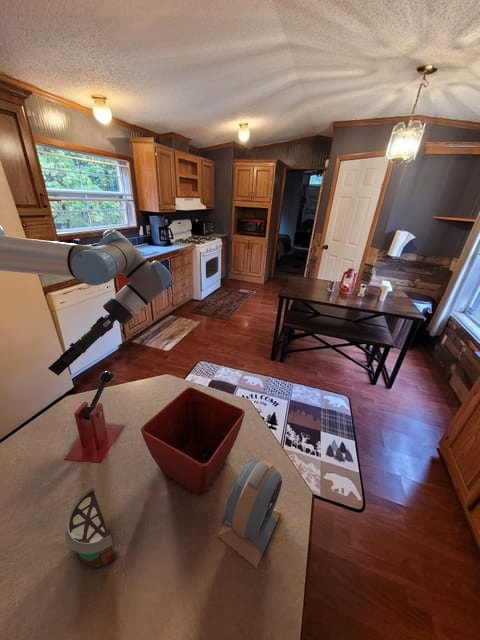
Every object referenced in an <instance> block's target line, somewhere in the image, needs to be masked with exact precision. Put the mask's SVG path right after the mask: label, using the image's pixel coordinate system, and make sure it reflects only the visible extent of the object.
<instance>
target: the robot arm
mask: <svg viewBox="0 0 480 640" xmlns="http://www.w3.org/2000/svg"><path fill="white" fill-rule="evenodd" d="M0 271H3V272H11V273H19V274H20V273H21V274H31V275H39V276H50V277H60V278H68V279H69V278H70V279H77V280H79V282H82V283H83V284H85V285H87V286H93V287H95V286H100V285H103V284H107V283H109V282H111V281H112V280H113V279H115V278H117V277H118V276H119V275H121V274H122V276H124V277H125V278H126V280H128V281H129V282H128V283H127V284H126V285H124V286H123V287H122V288H121V289H120V290H119V291H117V292H116V294H114V296H115V297H111V298H110V299H108V301H106V302H105V303H104V304H103V306H102V308H103V309H104V310H105V312H106V313H108V314H106V315H104V316H102V315H101V316H100V317H99V318H98V319H97V320H96V322H95V323H94V324H92V326H90V329H89V330H88V331H87V332H86V333H84V334H83V335H82V336H81V338H78V340H76V341H75V342H71V343H70V344H69V347H68V349H66V350H65V351H64V352H63V353H62V354H60V356H59V358H57V359H56V360H55V361H54V362H53V363H52V364H51V365H49V367H48V368H47V370H49V371H51V372H52V373H53V374H55V375H57V376H60V375H61V374H62V373H63V372H64V371H65V370H66V369H68V368H69V367H70V366H71V365H72V364H73V363H74V362H75V361H76V360H78V359H79V357H80V356H82V355H83V354H85V353H86V352H87V350H88V349H90V347H92V345H93V344H95V343H96V342H97V341H98V340H99V339H100V338H102V337H103V336H104V335H106V333H109V332H110V331H111V330H112V329H113V328H114V324H115V322H116V321H117V323H119V324H121V325H122V326H126V325H127V324H128V323H129V322H131V320H132V319H134V315H138V314H139V313H140V312H144V311H145V310H146V308H145V307H146V306H147V305H148V304H149V303H151V302H152V300H154V299H155V298H156V297H157V296H158V295H159V294H161V293H162V292H163V291H164V290H165V288H166V287H168V286H169V285H170V284H171V282H172V281H173V276H172V274H171V272H170V270H169V269H168V268H167V267H166V266H165V265H164V264H162V262H160V261H158V260H153V261H151V262H150V261H149V260H147V258H145V257H144V255H142V253H141V252H140V250H138V249H137V248H136V247H135V246H134V245H133V244H132V243H131V242H130V240H129V239H128V238H127V237H125V236H124V235H123V233H121V232H120V231H118V230H113V231H111V232H109V233H107V234H106V235H104V236H103V237H102V238H101V239H100V240H99V242H98V243H97V244H96V245H95V246H93V245H87V244H86V245H85V244H77V243H68V242H60V241H51V240H43V239H35V238H25V237H16V236H9V235H7V234H6V233H5V230H4V228H3V227H2V226H1V225H0Z"/></svg>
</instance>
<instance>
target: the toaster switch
mask: <svg viewBox="0 0 480 640" xmlns="http://www.w3.org/2000/svg"><path fill="white" fill-rule="evenodd" d="M86 406H89V402H88V401H83V403H82V404H81V405H79V407H78V408H77V409H76V411H75V412H74V413H73V414H74V419H75V423H76V427H77V432H78V437H79V438H78V440H77V441H76V443H75V444H73V445H74V446H72V448H71V449H70V450H69V452H68V453H67V454H66V456H65V457H64V458H63V460H66V461H74V462H86V463H95V464H102V463H103V461H104V459H105V457H106V456H107V454H108V452H109V451H110V450H111V447H112V446H113V444H114V442H115V441H116V439H117V437H118V436H119V434H120V433H121V431H122V429H123V427H121V426H111V425H109V426H108V425H107V423H106V419H105V418H106V417H105V413H104V406H103V403H102V402H98V403H97V405H96V407H95V408H94V409H93V411H92V412H91V413H90V414H89V415H90V420H85V419H84V418H83V417H82V414H83V412H84V410H85V408H86Z"/></svg>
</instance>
